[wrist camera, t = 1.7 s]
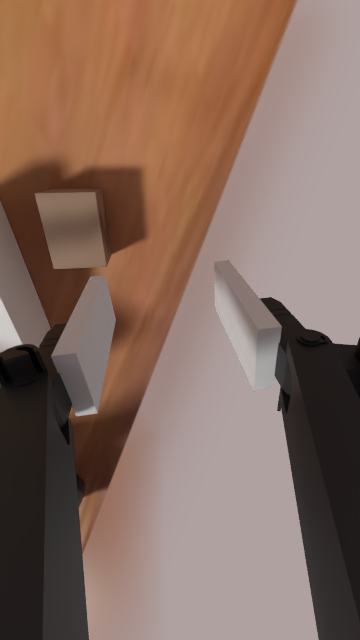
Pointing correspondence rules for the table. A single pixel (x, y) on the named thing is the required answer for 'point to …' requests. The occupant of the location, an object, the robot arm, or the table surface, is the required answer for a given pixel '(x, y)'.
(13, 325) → the grey board
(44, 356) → the robot arm
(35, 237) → the table surface
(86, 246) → the walnut block
